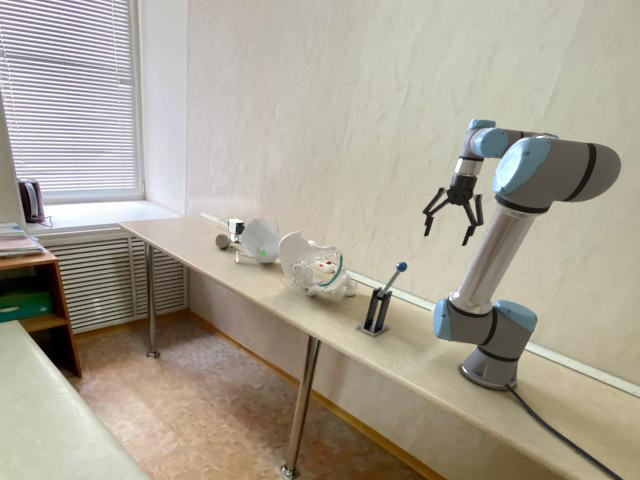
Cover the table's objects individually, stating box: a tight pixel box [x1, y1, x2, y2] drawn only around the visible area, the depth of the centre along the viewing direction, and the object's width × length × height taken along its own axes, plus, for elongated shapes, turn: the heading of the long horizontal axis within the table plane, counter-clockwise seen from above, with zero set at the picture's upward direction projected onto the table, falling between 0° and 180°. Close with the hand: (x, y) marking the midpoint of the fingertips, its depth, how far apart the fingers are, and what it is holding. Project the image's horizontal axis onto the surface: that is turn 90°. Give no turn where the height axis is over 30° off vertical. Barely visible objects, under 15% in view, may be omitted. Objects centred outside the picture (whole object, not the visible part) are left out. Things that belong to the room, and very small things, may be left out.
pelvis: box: [278, 230, 359, 297], centre depth 170 cm, size 35×23×30 cm
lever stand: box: [357, 286, 393, 335], centre depth 145 cm, size 10×7×15 cm
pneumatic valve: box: [227, 218, 246, 243], centre depth 225 cm, size 6×12×12 cm, turn 30°
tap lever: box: [376, 261, 408, 302], centre depth 143 cm, size 16×4×4 cm
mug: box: [214, 233, 232, 249], centre depth 216 cm, size 8×10×10 cm
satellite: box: [235, 212, 286, 264], centre depth 198 cm, size 23×20×25 cm
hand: (444, 240), depth 146 cm, fingers open, 13 cm apart
